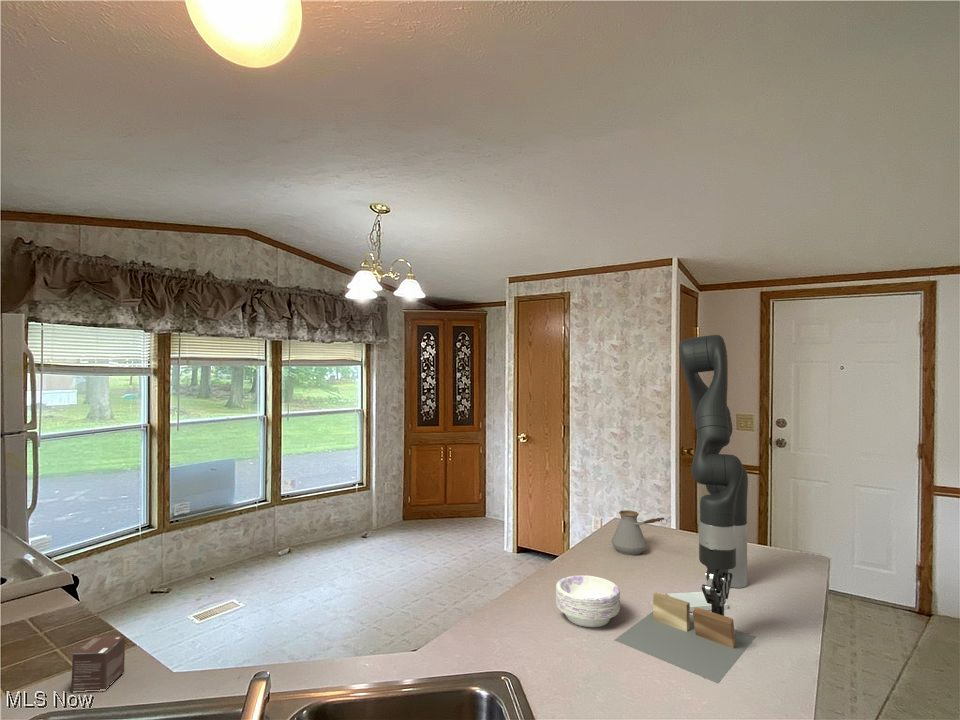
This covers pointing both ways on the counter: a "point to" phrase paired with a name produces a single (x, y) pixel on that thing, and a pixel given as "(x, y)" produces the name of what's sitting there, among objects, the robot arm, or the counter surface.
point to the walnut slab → (714, 627)
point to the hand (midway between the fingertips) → (717, 621)
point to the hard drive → (694, 600)
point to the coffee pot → (630, 533)
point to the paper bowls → (588, 600)
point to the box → (98, 663)
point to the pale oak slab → (671, 611)
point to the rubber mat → (685, 647)
